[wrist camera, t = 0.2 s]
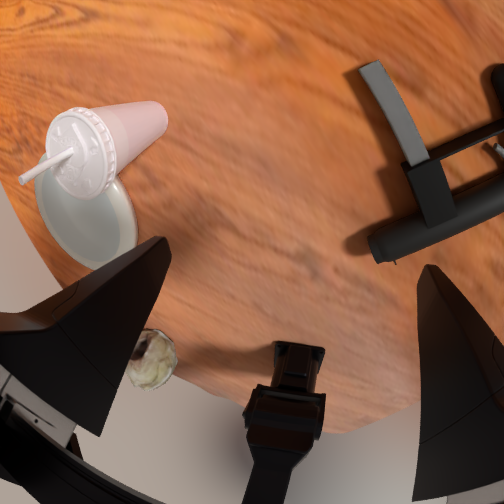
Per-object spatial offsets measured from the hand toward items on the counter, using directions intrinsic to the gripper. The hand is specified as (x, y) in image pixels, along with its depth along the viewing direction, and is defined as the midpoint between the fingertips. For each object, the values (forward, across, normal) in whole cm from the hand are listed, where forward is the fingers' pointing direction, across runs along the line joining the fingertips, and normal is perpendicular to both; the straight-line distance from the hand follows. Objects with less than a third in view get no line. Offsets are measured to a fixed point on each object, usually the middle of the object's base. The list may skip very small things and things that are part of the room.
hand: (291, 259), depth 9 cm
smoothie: (+15, +14, -2) cm, 20 cm away
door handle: (+15, -11, -1) cm, 19 cm away
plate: (+14, +27, +8) cm, 32 cm away
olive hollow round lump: (+13, +23, +32) cm, 42 cm away
